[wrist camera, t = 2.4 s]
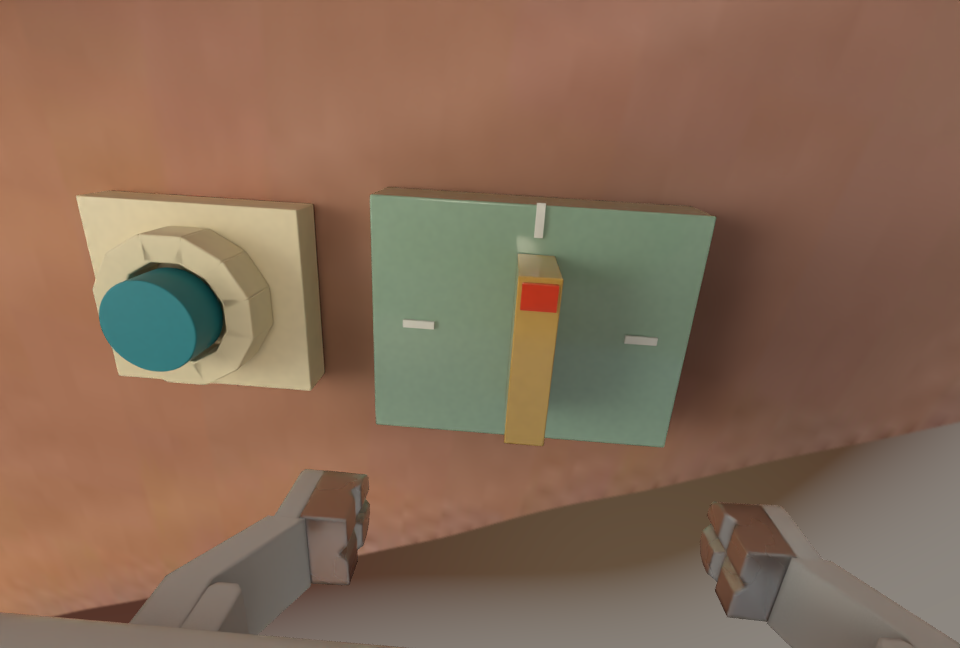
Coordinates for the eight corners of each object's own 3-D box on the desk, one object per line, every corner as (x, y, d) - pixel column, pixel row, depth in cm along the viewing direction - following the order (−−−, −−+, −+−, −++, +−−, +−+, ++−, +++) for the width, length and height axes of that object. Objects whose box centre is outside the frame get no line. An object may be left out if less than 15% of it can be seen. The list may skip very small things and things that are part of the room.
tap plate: (648, 416, 26) (665, 452, 23) (389, 396, 27) (374, 428, 24) (692, 203, 22) (719, 214, 19) (386, 184, 23) (367, 192, 20)
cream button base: (313, 203, 23) (276, 217, 20) (325, 373, 27) (294, 412, 23) (109, 190, 24) (33, 201, 20) (145, 359, 27) (86, 395, 23)
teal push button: (217, 270, 21) (187, 284, 19) (229, 355, 22) (203, 375, 21) (126, 263, 21) (87, 276, 19) (143, 348, 23) (110, 368, 21)
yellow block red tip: (539, 402, 23) (543, 450, 20) (504, 399, 23) (503, 447, 20) (555, 255, 20) (564, 281, 17) (517, 252, 20) (518, 277, 17)
